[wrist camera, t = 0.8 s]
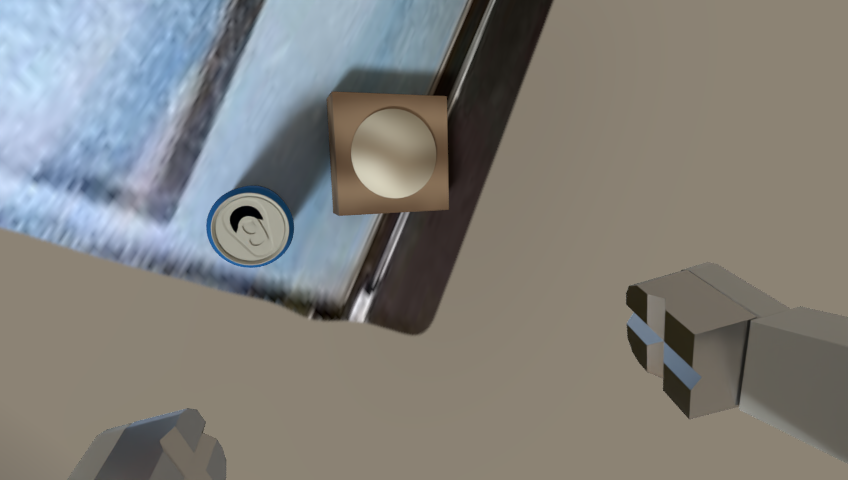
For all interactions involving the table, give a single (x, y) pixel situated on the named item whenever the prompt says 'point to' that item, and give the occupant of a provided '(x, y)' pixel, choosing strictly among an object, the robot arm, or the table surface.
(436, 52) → the table surface
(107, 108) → the table surface
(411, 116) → the base block
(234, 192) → the beverage can
